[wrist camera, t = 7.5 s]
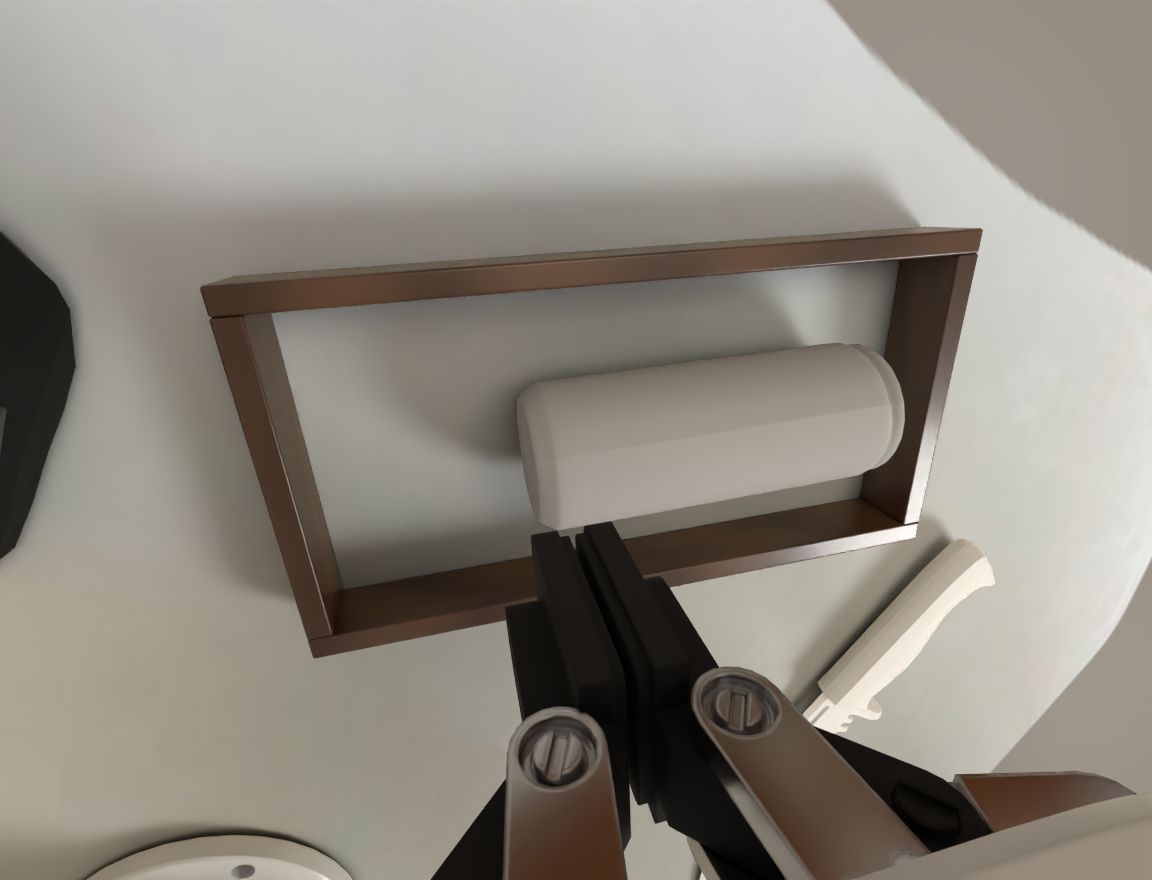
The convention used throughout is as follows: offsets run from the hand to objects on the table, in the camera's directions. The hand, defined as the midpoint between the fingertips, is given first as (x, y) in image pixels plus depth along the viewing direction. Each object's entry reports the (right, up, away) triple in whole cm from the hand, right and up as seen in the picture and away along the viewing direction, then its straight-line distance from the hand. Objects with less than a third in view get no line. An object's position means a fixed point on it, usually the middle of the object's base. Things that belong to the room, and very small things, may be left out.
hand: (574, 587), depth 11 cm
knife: (+13, -15, +20) cm, 28 cm away
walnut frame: (+2, +4, +9) cm, 10 cm away
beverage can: (-2, +2, +6) cm, 7 cm away
